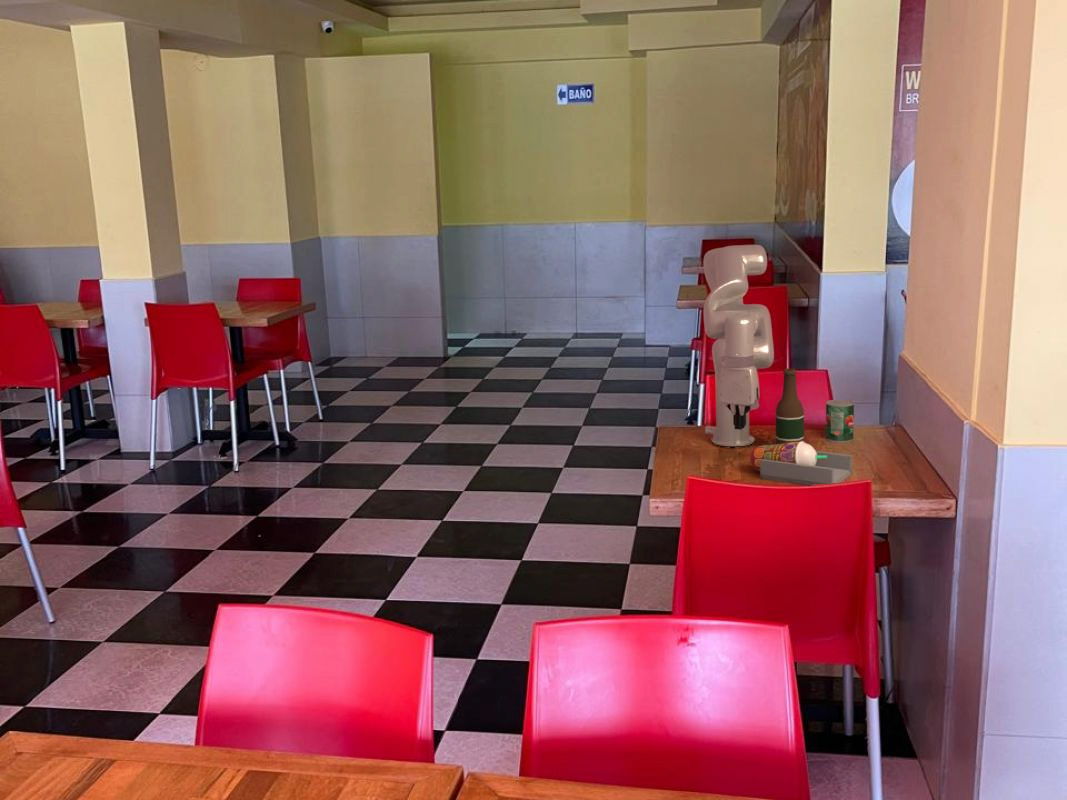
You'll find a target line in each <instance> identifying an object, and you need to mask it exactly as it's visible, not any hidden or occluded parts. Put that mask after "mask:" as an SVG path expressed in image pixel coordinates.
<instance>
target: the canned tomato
mask: <svg viewBox="0 0 1067 800" xmlns="http://www.w3.org/2000/svg"><path fill="white" fill-rule="evenodd" d="M854 418H855V402H854V401H853V400H852V401H851V400H849V399H848V400H847V399H831V400H827V401H826V402H825V440H827V441H829V442H833V443H849V441H850V442H852V441H854V439H855V438H854V432H855V431H854V428H855V427H854V426H855V425H854V424H855V421H854Z"/></svg>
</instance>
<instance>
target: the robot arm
mask: <svg viewBox="0 0 1067 800" xmlns="http://www.w3.org/2000/svg"><path fill="white" fill-rule="evenodd" d="M767 267H768V256H767V252H766V249H765V248H764V247H763V246H762V245H760V244H742V245H728V246H727V245H726V246H724V247H718V248H713V249H711V250H710V249H709V250H708V251H707V252H705V254H704V257H703V272H704V277H705V280H706V282H707V285H708V287H709V289H710V293H708V295H707V297H706V299H705V301H704V304H703V324H704V332H705V334H706V336H707V337H708V338H711V339H714V340H715V341H713V344H712V348H711V354H712V355H711V356H712V360H713V368H714V375H715V376H714V378H715V379H714V381H715V417H716V418H715V419H716V420H715V421H716V422H715V423H716V424H715V426H711V425H705V428H704V430H705V432H704V433H705V434H706V435H708V434H709V435H712V437H711V440H712V442H714V443H716V444H719V445H724V446H745V445H749V444H752V443H753V442H754V441H756V440H755V437H754V436H752V435H750V411H752V410H757V409H759V408H760V404H759V401H760V382H759V375H758V369H759V370H760V369H767V368H770V367H771V366H772V365H773V363H774V360H775V359H774V358H775V349H774V340H773V328H772V319H771V314H770V311H769V309H768V307H767V306H766V305H763V304H756V303H752V304H751V303H750V304H745V303H744V298H743V297H744V296H745V295H746V294H747V292H748V290H749V281H748V276H758V275H759V276H760V275H762V274H764V273H765V272H766V270H767ZM712 442H711V443H712ZM754 443H755V442H754ZM754 443H753V444H754ZM753 444H752V445H753ZM749 446H750V445H749ZM745 447H746V446H745Z"/></svg>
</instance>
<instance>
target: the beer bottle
mask: <svg viewBox="0 0 1067 800" xmlns="http://www.w3.org/2000/svg"><path fill="white" fill-rule="evenodd" d="M782 374H783V384H782V385H783V386H782V395H781V399H780V400H779V401H778V402H777V405H776V408H775V444H783V443H792V442H801V441H803V442H805V409H804V406H803V404H802V402H801V401H800V399H799V397H798V393H797V391H798V390H797V374H798V373H797V370H796V369H794V368H785V369H783V371H782Z"/></svg>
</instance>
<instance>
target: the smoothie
mask: <svg viewBox="0 0 1067 800" xmlns="http://www.w3.org/2000/svg"><path fill="white" fill-rule="evenodd" d="M816 451H817V450H816V449H815V447H813V446H812V445H811V444H809V443H806V442H805V441H804V442H803V441H801V442H792V443H783V444H776V443H775V444H765V445H758V446H757V447H755V448H753V449H752V450H751V452H750V464H751V467H752V468H753V470H755V471H756V470H757V471H758V472H760V460H762V459H766V460H773V461H781V462H788V463H796V464H804V465H811V466H815V465H816V463H817V458H827V455H825V456H817V453H816Z"/></svg>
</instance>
